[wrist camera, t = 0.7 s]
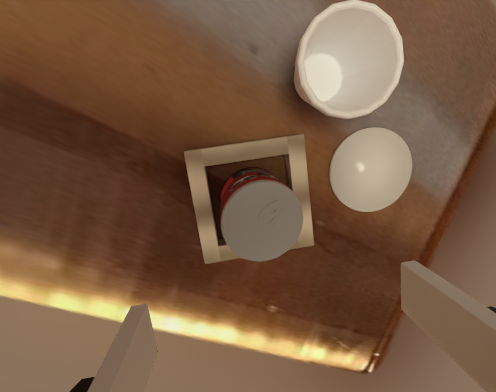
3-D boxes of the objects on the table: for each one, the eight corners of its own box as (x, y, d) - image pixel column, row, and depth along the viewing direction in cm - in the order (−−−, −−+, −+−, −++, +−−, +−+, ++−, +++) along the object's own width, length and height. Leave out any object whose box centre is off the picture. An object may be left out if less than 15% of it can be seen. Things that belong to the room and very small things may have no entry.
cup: (374, 78, 36) (426, 60, 27) (316, 138, 37) (348, 141, 28) (319, 13, 33) (356, -30, 24) (260, 79, 34) (274, 61, 25)
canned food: (289, 179, 37) (317, 198, 27) (265, 234, 39) (282, 273, 28) (234, 156, 36) (241, 167, 25) (211, 214, 37) (208, 247, 27)
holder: (185, 150, 35) (183, 151, 33) (298, 133, 36) (303, 134, 34) (205, 255, 39) (204, 264, 36) (308, 238, 39) (314, 245, 37)
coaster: (325, 133, 37) (327, 134, 36) (408, 121, 37) (411, 121, 37) (331, 216, 39) (333, 218, 38) (409, 203, 40) (412, 204, 39)
